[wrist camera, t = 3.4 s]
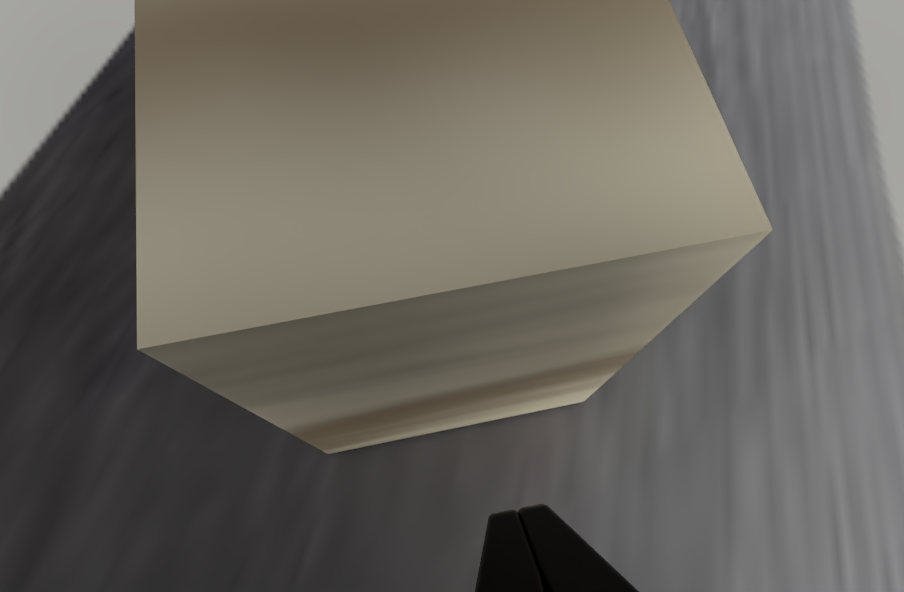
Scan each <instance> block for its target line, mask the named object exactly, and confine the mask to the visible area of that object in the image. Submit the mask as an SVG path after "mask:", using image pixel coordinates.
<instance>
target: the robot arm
mask: <svg viewBox="0 0 904 592" xmlns="http://www.w3.org/2000/svg"><path fill="white" fill-rule="evenodd" d="M475 592H639V591H638V590H637V589H635V588H634V587H633V586H632V585H631V584H630V583H629V582H628V581H627V580H626V579H625V578H624V577H623V576H622V575H621V574H620V573H618V572H617V571H616V570H615V569H614V568H613V567H612V566H611V565H610V564H609V563H608V562H607V561H606V560H605V559H604V558H603V557H601V556H600V555H599V554H598V553H597V552H596V551H595V550H594V549H593V548H592V547H591V546H590V545H589V544H588V543H587V542H585V541H584V540H583V539H582V538H581V537H580V536H579V535H578V534H577V533H576V532H575V531H574V530H573V529H572V528H571V527H570V526H568V525H567V524H566V523H565V522H564V521H563V520H562V519H561V518H560V517H559V516H558V515H557V514H556V513H555V512H554V511H553V510H551V509H550V508H549V507H548V506H547V505H545V504H538V505H533V506H528V507H523V508H521V509H520V510H519V511H518V512H517V511H516V510H508V511H503V512H498V513H493V514H491V515H490V517H489V519H488V524H487V529H486V535H485V540H484V546H483V551H482V556H481V562H480V567H479V572H478V578H477V583H476V589H475Z"/></svg>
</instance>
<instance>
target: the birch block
mask: <svg viewBox="0 0 904 592" xmlns="http://www.w3.org/2000/svg"><path fill="white" fill-rule="evenodd" d="M135 117H136V267H137V350H139V351H141V352H143V353H145V354H146V355H148V356H150V357H152V358H154V359H156V360H157V361H159V362H161V363H163V364H165V365H167V366H168V367H170V368H172V369H174V370H176V371H177V372H179V373H181V374H183V375H185V376H187V377H188V378H190V379H192V380H194V381H196V382H197V383H199V384H201V385H203V386H205V387H207V388H208V389H210V390H212V391H214V392H216V393H218V394H219V395H221V396H223V397H225V398H227V399H228V400H230V401H232V402H234V403H236V404H238V405H239V406H241V407H243V408H245V409H247V410H249V411H250V412H252V413H254V414H256V415H258V416H259V417H261V418H263V419H265V420H267V421H269V422H270V423H272V424H274V425H276V426H278V427H279V428H281V429H283V430H285V431H287V432H289V433H290V434H292V435H294V436H296V437H298V438H300V439H301V440H303V441H305V442H307V443H309V444H310V445H312V446H314V447H316V448H318V449H320V450H321V451H323V452H325V453H327V454H332V453H336V452H341V451H346V450H351V449H356V448H361V447H366V446H370V445H375V444H380V443H385V442H390V441H395V440H400V439H405V438H409V437H414V436H419V435H424V434H429V433H434V432H439V431H444V430H448V429H453V428H458V427H463V426H468V425H473V424H478V423H482V422H487V421H492V420H497V419H502V418H507V417H512V416H517V415H521V414H526V413H531V412H536V411H541V410H546V409H551V408H555V407H560V406H565V405H570V404H575V403H580V402H584V401H585V400H586V399H587V398H588V397H590V396H591V395H592V394H593V393H594V392H595V391H596V390H597V389H598V388H599V387H601V386H602V385H603V384H604V383H605V382H606V381H607V380H608V379H609V378H610V377H612V376H613V375H614V374H615V373H616V372H617V371H618V370H619V369H620V368H621V367H623V366H624V365H625V364H626V363H627V362H628V361H629V360H630V359H631V358H632V357H634V356H635V355H636V354H637V353H638V352H639V351H640V350H641V349H642V348H643V347H645V346H646V345H647V344H648V343H649V342H650V341H651V340H652V339H653V338H654V337H656V336H657V335H658V334H659V333H660V332H661V331H662V330H663V329H664V328H665V327H667V326H668V325H669V324H670V323H671V322H672V321H673V320H674V319H675V318H676V317H678V316H679V315H680V314H681V313H682V312H683V311H684V310H685V309H686V308H687V307H689V306H690V305H691V304H692V303H693V302H694V301H695V300H696V299H697V298H699V297H700V296H701V295H702V294H703V293H704V292H705V291H706V290H707V289H708V288H710V287H711V286H712V285H713V284H714V283H715V282H716V281H717V280H718V279H719V278H721V277H722V276H723V275H724V274H725V273H726V272H727V271H728V270H729V269H730V268H732V267H733V266H734V265H735V264H736V263H737V262H738V261H739V260H740V259H741V258H743V257H744V256H745V255H746V254H747V253H748V252H749V251H750V250H751V249H752V248H754V247H755V246H756V245H757V244H758V243H759V242H760V241H761V240H762V239H763V238H765V237H766V236H767V235H768V234H769V233H770V232H771V231H772V230H773V229H772V227H771V225H770V223H769V220H768V218H767V216H766V214H765V211H764V209H763V207H762V205H761V203H760V200H759V198H758V196H757V194H756V192H755V189H754V187H753V185H752V183H751V180H750V178H749V176H748V174H747V172H746V169H745V167H744V165H743V163H742V161H741V158H740V156H739V154H738V152H737V149H736V147H735V145H734V143H733V141H732V138H731V136H730V134H729V132H728V130H727V127H726V125H725V123H724V121H723V118H722V116H721V114H720V112H719V110H718V107H717V105H716V103H715V101H714V98H713V96H712V94H711V92H710V90H709V87H708V85H707V83H706V81H705V79H704V76H703V74H702V72H701V70H700V67H699V65H698V63H697V61H696V59H695V56H694V54H693V52H692V50H691V48H690V45H689V43H688V41H687V39H686V36H685V34H684V32H683V30H682V28H681V25H680V23H679V21H678V19H677V17H676V14H675V12H674V10H673V8H672V5H671V3H670V1H669V0H135Z"/></svg>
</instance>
